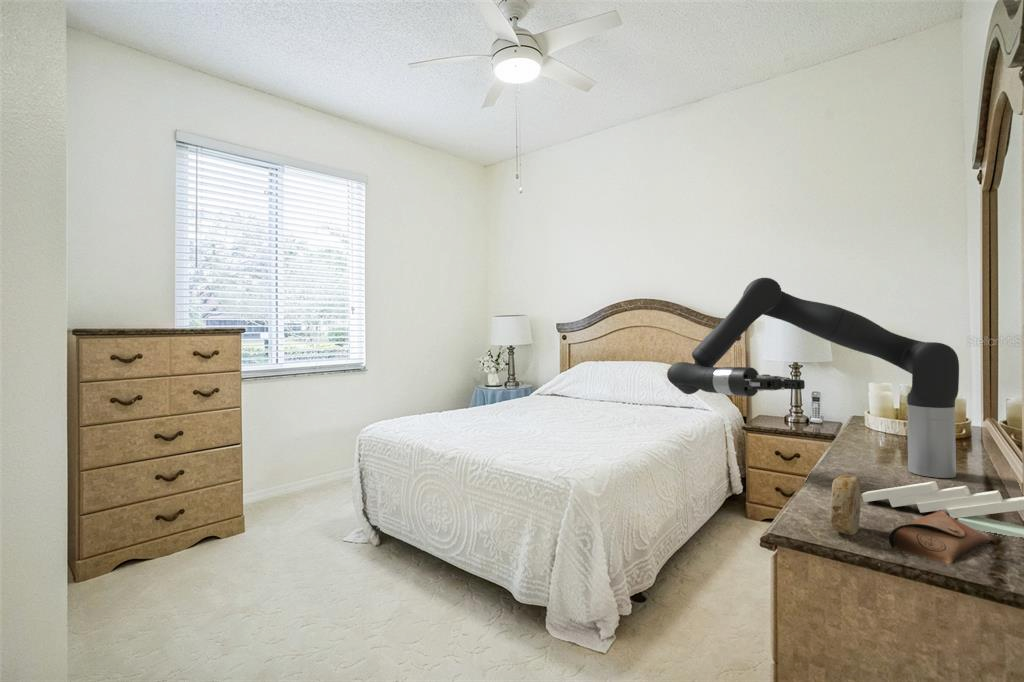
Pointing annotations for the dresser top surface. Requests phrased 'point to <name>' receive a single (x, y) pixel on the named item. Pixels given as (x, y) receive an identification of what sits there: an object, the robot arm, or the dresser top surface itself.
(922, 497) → the domino
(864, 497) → the domino
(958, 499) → the domino
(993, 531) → the domino
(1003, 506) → the domino
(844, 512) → the stone disc
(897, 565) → the dresser top surface
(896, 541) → the sunglasses case
